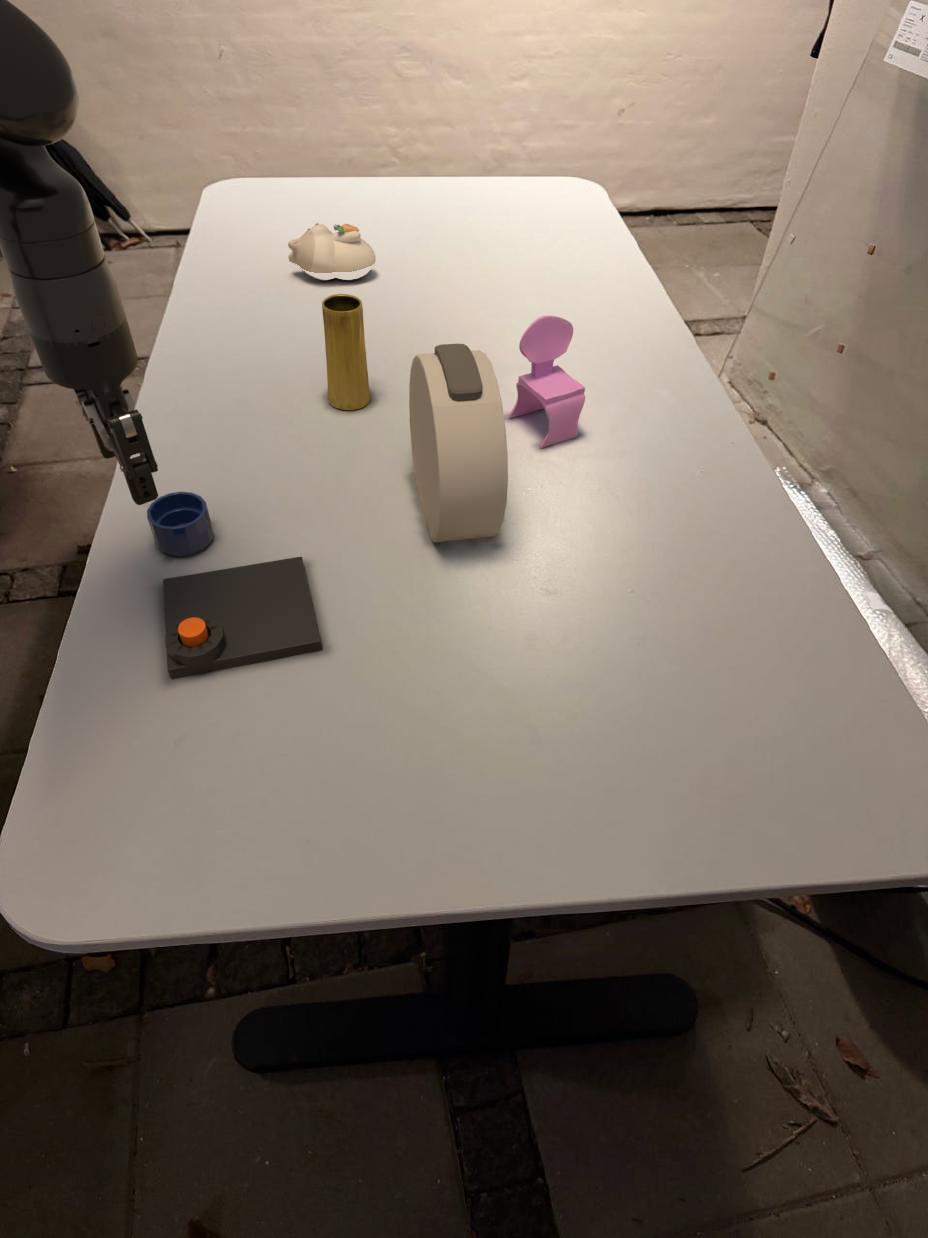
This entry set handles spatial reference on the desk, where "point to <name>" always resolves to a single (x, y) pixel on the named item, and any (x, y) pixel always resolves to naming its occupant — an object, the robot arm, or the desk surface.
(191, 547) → the bowl
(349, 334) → the vase
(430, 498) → the alarm clock
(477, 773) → the desk surface
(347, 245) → the cat figurine
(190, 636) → the button
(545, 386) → the toy chair
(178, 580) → the scale
